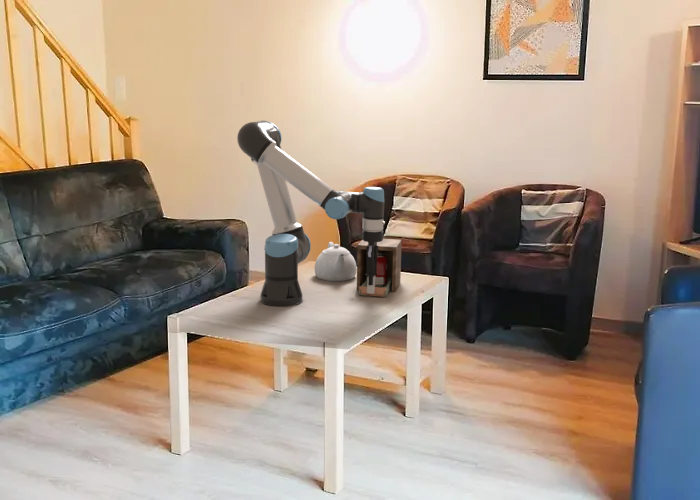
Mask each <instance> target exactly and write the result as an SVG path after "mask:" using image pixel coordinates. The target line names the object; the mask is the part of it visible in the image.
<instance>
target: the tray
mask: <svg viewBox="0 0 700 500" xmlns="http://www.w3.org/2000/svg"><path fill="white" fill-rule="evenodd" d="M391 289H392V278H387V284H386V285H384V286H381V287H376V286H375V293H374V294H371V293H367V279H366V281H365V282H364V283H363V285H362V286H359V290H358V295H359V296H369V297H382V298H383V297H384V298H386V297H387V295H388V293H389V292H390V290H391Z"/></svg>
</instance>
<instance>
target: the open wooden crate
mask: <svg viewBox="0 0 700 500" xmlns="http://www.w3.org/2000/svg"><path fill="white" fill-rule="evenodd" d="M402 244H403V243H402V239H395V238H394V239H392V238H383V240H382V241H381V242H377V245H378V253H382V254H386V258H387V278H392V287H391V293H396V291H397V290H398V288H399V286H400V285H401V276H402V275H401V274H402ZM367 245H368V242H367V241H363V240H362V239H361V241H360V242H359V243H358V244H357V249H356V251H357V252H356V267H357V270H356V290H357V291H359V286H362V285H363V283H364V282H365V281H366V279H367V276H365V275H366V273H367V262H366V252H367V251H366V246H367Z"/></svg>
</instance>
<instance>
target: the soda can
mask: <svg viewBox="0 0 700 500" xmlns="http://www.w3.org/2000/svg"><path fill="white" fill-rule="evenodd" d="M376 270H377V271H376V273H378V274H377V275H375V286H376V287H381V286H384V285H386V284H387V258H386V254H382V253H378V254H377V267H376Z"/></svg>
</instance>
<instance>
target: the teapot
mask: <svg viewBox="0 0 700 500" xmlns="http://www.w3.org/2000/svg"><path fill="white" fill-rule="evenodd" d="M314 274H315V277H316V278H318V279H320V280H323V281H328V282H345V281H350V280H352V279H354V278H355V276H357V261H356V260H355V258H354V256H353V255H352V254H351V252H350V251H349V250H348V249H347V248H345V247H342V246H340V244H338V243H335V244H334V242H333V241H329V242H328V244H327V248H325V249H323V250H322V251H321V252H320V253H319V255H318V256H317V258H316V260H315V263H314Z"/></svg>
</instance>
